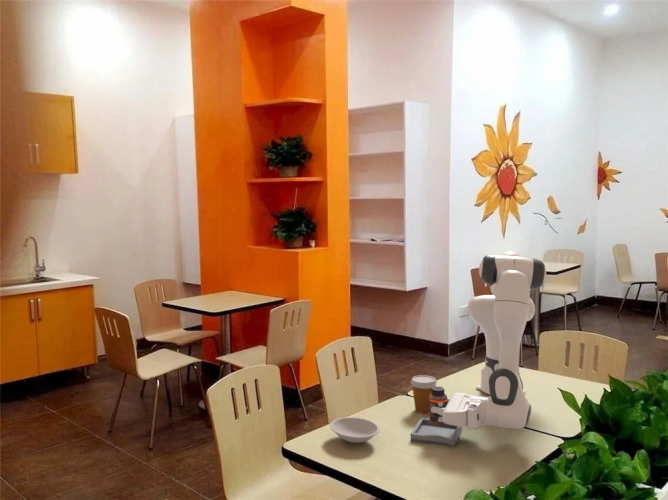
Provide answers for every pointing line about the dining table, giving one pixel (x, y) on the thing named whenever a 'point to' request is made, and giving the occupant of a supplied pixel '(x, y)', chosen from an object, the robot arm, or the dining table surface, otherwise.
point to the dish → (354, 429)
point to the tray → (435, 433)
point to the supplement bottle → (437, 404)
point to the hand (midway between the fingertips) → (434, 405)
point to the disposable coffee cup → (422, 392)
